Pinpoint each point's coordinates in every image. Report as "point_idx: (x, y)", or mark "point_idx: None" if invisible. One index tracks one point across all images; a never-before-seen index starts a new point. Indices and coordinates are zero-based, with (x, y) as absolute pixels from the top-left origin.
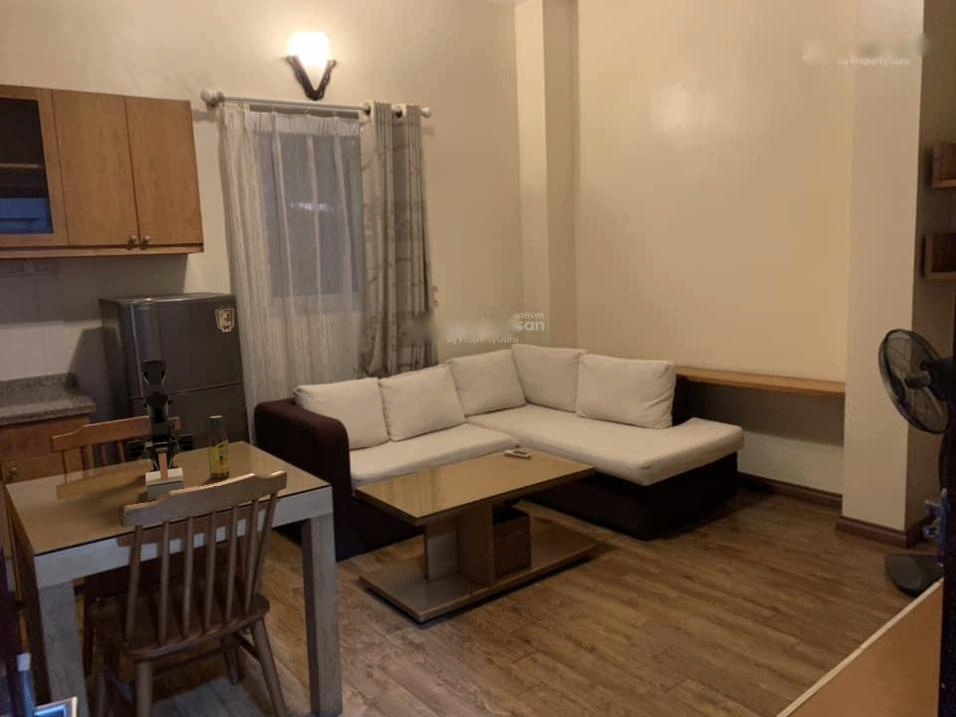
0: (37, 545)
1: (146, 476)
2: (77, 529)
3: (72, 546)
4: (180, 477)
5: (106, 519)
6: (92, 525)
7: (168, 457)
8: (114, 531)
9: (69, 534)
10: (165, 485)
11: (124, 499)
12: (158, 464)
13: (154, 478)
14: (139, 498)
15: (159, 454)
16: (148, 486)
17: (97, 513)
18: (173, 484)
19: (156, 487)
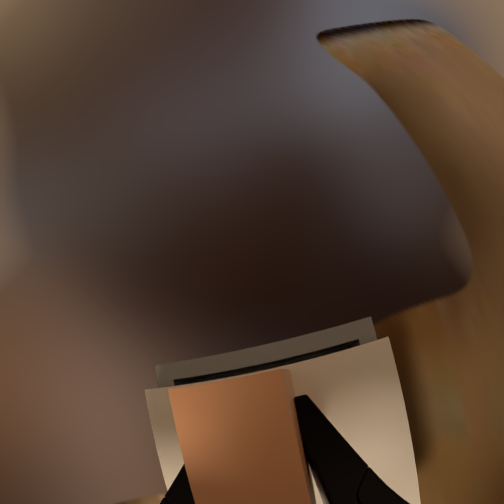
0: (470, 49)
1: (415, 501)
2: (457, 92)
3: (393, 21)
4: (163, 400)
5: (428, 136)
6: (437, 104)
7: (191, 498)
8: (344, 52)
9: (452, 71)
10: (260, 346)
11: (472, 380)
12: (310, 425)
13: (353, 444)
14: (410, 382)
15: (292, 490)
16: (368, 341)
17: (494, 209)
18: (212, 356)
19: (315, 333)
